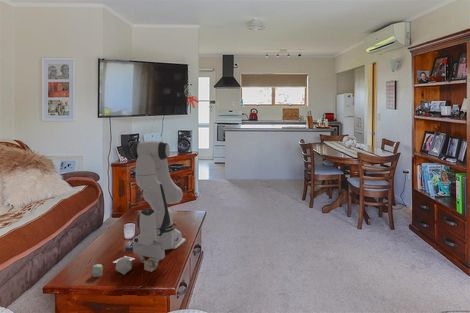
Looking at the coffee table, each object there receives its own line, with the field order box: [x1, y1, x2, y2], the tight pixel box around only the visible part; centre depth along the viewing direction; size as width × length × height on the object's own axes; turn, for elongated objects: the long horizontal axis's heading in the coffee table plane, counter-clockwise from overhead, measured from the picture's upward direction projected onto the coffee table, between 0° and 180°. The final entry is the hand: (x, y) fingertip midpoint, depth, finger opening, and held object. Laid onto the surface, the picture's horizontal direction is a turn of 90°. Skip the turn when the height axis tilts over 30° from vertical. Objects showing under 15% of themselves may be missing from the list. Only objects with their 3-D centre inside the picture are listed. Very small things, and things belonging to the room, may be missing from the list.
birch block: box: [143, 257, 159, 273], centre depth 211 cm, size 5×5×5 cm
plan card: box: [112, 255, 136, 264], centre depth 222 cm, size 10×8×1 cm
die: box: [115, 256, 133, 276], centre depth 207 cm, size 8×9×10 cm
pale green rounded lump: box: [92, 263, 104, 278], centre depth 204 cm, size 5×5×5 cm
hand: (149, 263), depth 210 cm, fingers open, 8 cm apart
